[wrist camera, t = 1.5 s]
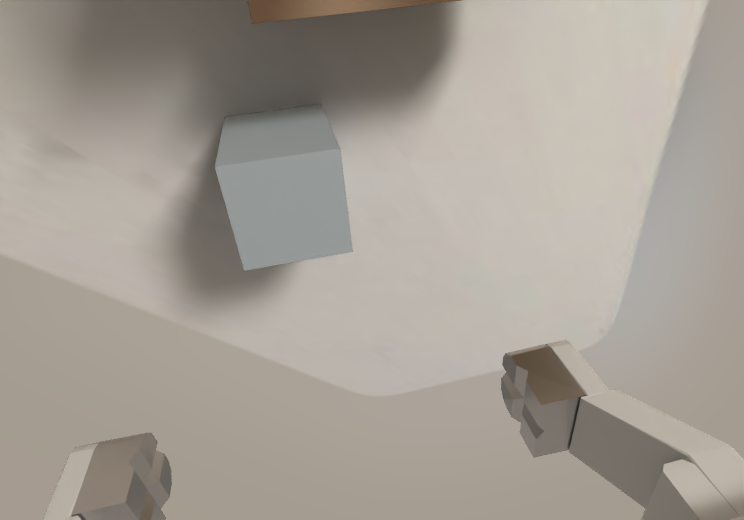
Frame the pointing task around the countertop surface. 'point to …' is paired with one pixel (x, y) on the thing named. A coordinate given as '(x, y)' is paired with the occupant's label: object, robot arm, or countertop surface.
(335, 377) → the countertop surface
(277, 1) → the wall board
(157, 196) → the countertop surface
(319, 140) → the cabinet box
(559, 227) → the countertop surface
